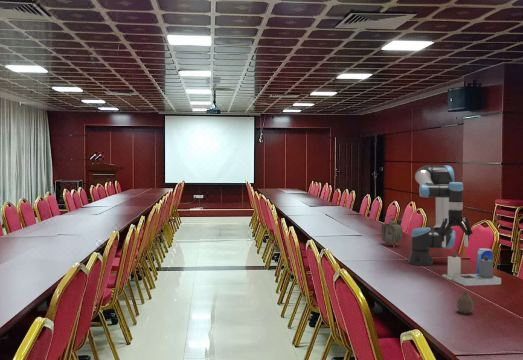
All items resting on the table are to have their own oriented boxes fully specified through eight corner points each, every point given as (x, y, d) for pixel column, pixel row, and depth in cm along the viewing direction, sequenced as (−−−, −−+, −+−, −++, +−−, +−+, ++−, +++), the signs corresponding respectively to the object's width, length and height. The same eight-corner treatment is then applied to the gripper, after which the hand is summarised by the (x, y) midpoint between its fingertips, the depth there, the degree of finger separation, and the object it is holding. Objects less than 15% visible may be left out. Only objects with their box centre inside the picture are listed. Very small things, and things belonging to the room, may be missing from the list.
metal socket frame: (452, 281, 272) (452, 274, 272) (487, 280, 276) (487, 273, 275) (465, 287, 260) (465, 279, 260) (501, 285, 264) (501, 278, 264)
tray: (442, 277, 282) (442, 274, 282) (456, 277, 284) (456, 273, 283) (450, 281, 273) (450, 278, 273) (466, 280, 274) (466, 277, 274)
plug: (447, 277, 280) (447, 252, 280) (455, 276, 281) (456, 252, 281) (452, 279, 275) (452, 253, 275) (460, 279, 276) (460, 253, 276)
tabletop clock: (381, 245, 389) (382, 214, 388) (390, 244, 393) (391, 213, 392) (393, 248, 376) (394, 215, 375) (403, 247, 380) (403, 215, 379)
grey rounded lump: (468, 310, 221) (469, 290, 220) (476, 314, 214) (476, 294, 214) (453, 310, 221) (454, 290, 220) (460, 314, 214) (460, 295, 213)
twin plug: (478, 281, 271) (479, 255, 270) (487, 280, 272) (487, 254, 271) (484, 283, 266) (484, 256, 265) (492, 282, 267) (493, 256, 266)
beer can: (483, 278, 279) (483, 250, 279) (473, 275, 288) (473, 248, 287) (495, 277, 282) (496, 250, 281) (485, 274, 290) (485, 247, 289)
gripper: (438, 210, 271) (438, 248, 272) (479, 209, 275) (478, 247, 276) (431, 209, 278) (431, 246, 279) (471, 208, 282) (471, 245, 283)
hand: (454, 246), depth 277 cm, fingers open, 13 cm apart
